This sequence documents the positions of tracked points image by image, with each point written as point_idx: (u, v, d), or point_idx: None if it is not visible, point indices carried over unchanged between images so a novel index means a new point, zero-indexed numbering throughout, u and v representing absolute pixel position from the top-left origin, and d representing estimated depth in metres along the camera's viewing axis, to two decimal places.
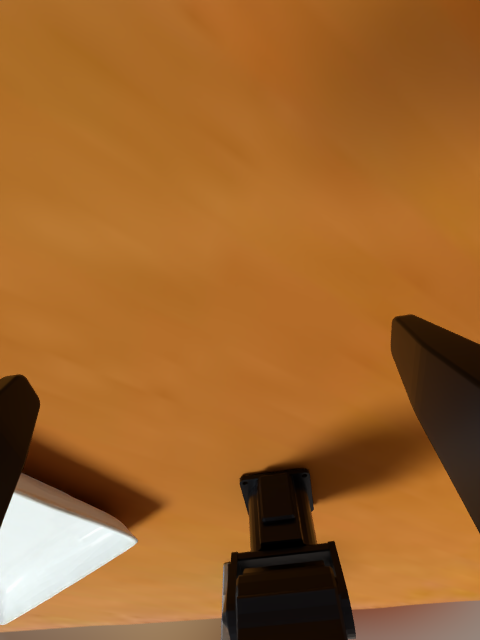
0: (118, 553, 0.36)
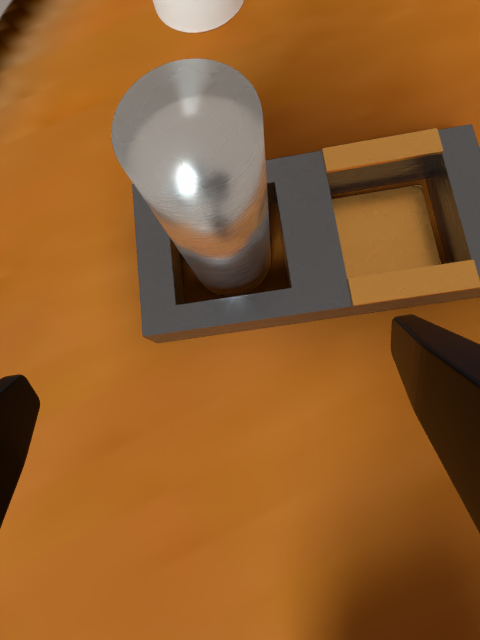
0: None
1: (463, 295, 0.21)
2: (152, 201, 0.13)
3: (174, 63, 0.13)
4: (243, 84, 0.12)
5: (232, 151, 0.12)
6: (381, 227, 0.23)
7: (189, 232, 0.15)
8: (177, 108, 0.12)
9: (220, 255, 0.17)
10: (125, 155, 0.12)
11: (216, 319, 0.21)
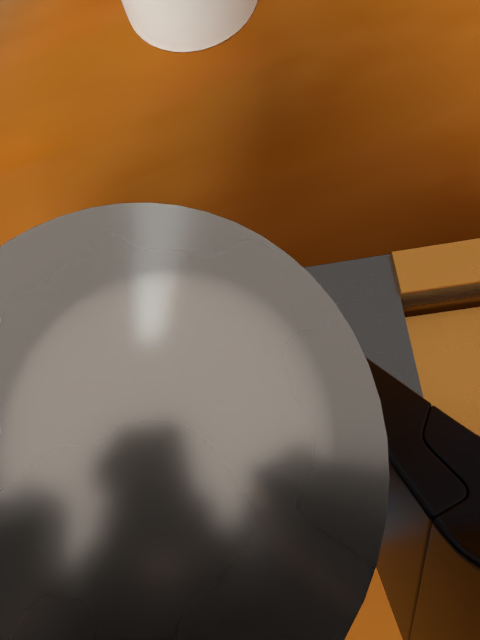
0: None
1: None
2: None
3: (86, 213, 0.04)
4: (311, 305, 0.04)
5: (279, 593, 0.03)
6: None
7: None
8: (86, 383, 0.04)
9: None
10: None
11: None
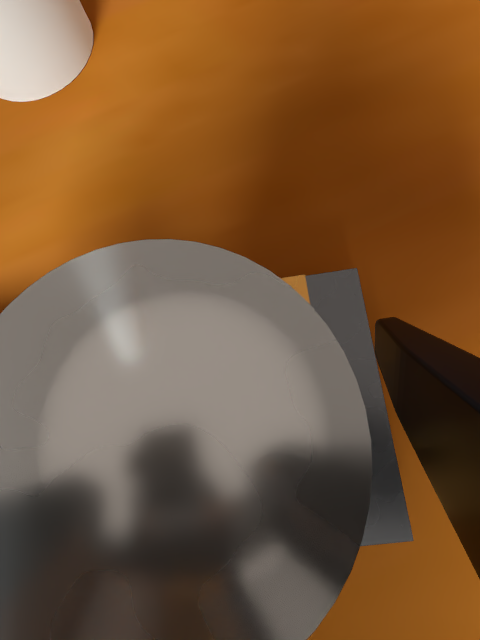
0: None
1: None
2: None
3: (116, 247, 0.05)
4: (308, 328, 0.04)
5: (282, 566, 0.04)
6: None
7: None
8: (120, 393, 0.04)
9: None
10: None
11: None
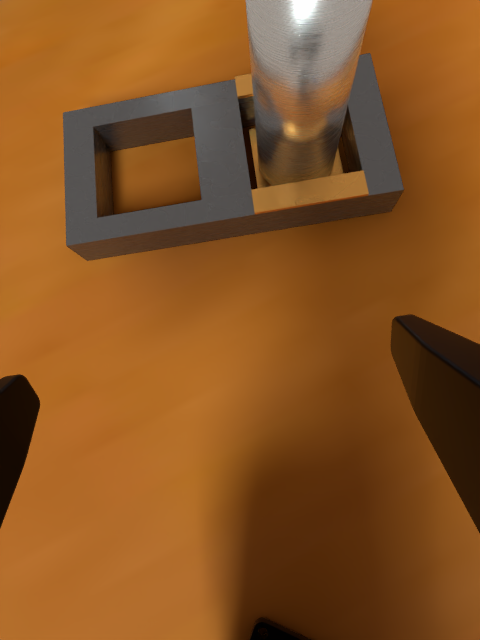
0: None
1: (359, 207, 0.23)
2: (273, 21, 0.14)
3: None
4: None
5: None
6: None
7: (295, 69, 0.15)
8: None
9: (311, 112, 0.18)
10: None
11: (132, 229, 0.22)
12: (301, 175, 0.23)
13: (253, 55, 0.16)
